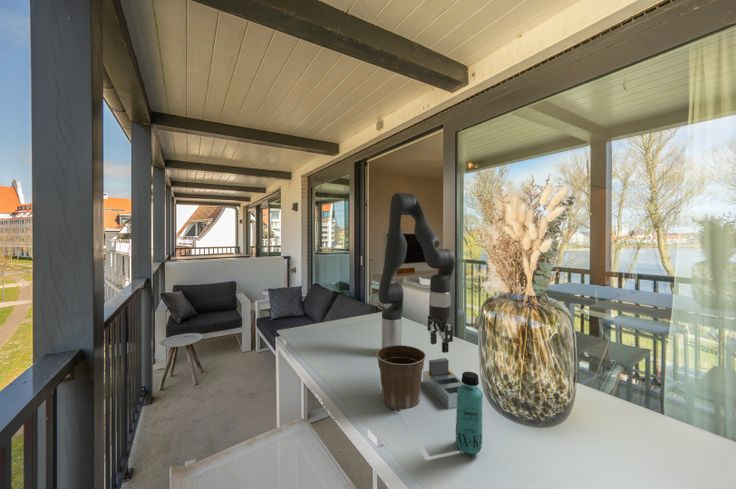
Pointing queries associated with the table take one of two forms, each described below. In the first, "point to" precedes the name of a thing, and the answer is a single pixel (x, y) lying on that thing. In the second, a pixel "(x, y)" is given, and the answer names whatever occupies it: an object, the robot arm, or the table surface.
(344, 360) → the table surface
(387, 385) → the plant pot
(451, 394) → the rack
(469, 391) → the beverage bottle
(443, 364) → the panel
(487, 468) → the table surface
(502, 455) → the table surface
